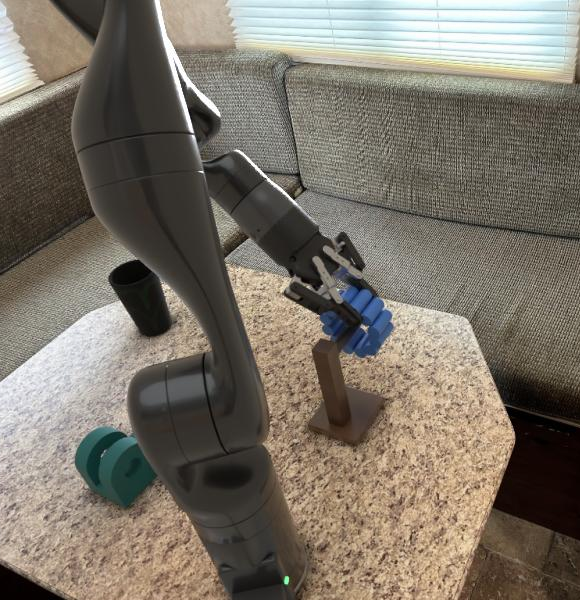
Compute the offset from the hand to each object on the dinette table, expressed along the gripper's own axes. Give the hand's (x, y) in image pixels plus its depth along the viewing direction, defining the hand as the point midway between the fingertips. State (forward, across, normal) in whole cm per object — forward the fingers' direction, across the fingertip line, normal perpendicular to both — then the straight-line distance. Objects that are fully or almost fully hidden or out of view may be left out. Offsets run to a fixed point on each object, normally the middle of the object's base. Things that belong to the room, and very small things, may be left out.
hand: (367, 312), depth 82 cm
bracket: (-7, -22, +28) cm, 36 cm away
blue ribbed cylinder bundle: (+4, 0, +6) cm, 7 cm away
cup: (-21, -1, +42) cm, 47 cm away
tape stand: (+9, -3, +12) cm, 16 cm away
